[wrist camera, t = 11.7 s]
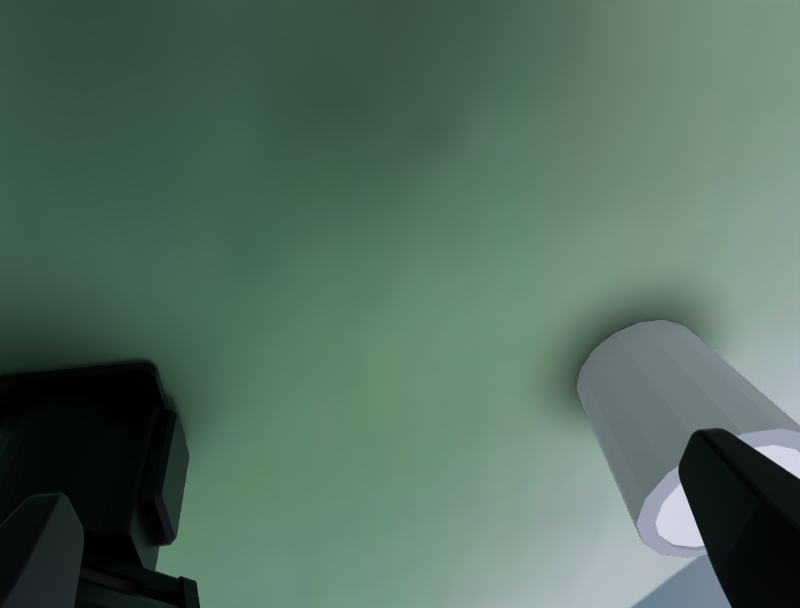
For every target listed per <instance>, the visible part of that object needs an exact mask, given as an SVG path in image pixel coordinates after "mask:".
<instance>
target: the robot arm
mask: <svg viewBox="0 0 800 608" xmlns="http://www.w3.org/2000/svg"><path fill="white" fill-rule="evenodd" d="M139 375H144V376H146V377H148V378H146V379H145V378H140V377H138V376H139ZM188 461H189V453H188V449H187V445H186V442H185V438H184V434H183V431H182V427H181V424H180V420H179V416H178V413H176V412H175V411H174V410H173V409H168V405H167V402H166V398H165V395H164V391H163V388H162V384H161V381H160V377H159V374H158V371H157V369H156V368H155V367H154V366H152V365H150V364H148V363H134V364H123V365H112V366H101V367H91V368H80V369H69V370H59V371H48V372H37V373H26V374H16V375H5V376H0V608H200V604H199V597H198V590H197V583H196V581H194V580H191V579H188V578H185V577H182V576H180V577H179V578H176V577H172V576H169V575H166V574H163V573H160V572H157V571H155V569H156V564H157V558H158V552H159V547H160V546H166V545H170V544H172V542H173V541H174V540H175V539H176V537H177V531H178V525H179V519H180V512H181V506H182V500H183V493H184V487H185V480H186V474H187V468H188ZM678 474H679V479H680V482H681V485H682V488H683V490H684V493H685V496H686V498H687V501H688V504H689V506H690V509H691V511H692V514H693V517H694V519H695V522H696V525H697V527H698V530H699V533H700V535H701V538H702V541H703V543H704V546H705V549H706V551H707V554H708V557H709V559H710V562H711V564H712V567H713V569H714V571H715V574H716V576H717V578H718V580H719V583H720V585H721V587H722V589H723V591H724V593H725V595H726V597H727V599H728V601H729V603H730V605H731V607H732V608H800V479H799V478H798V477H796V476H795V475H793V474H792V473H790V472H789V471H787V470H786V469H784V468H783V467H781V466H780V465H778V464H777V463H775V462H774V461H772V460H771V459H769V458H768V457H766V456H765V455H763V454H762V453H760V452H759V451H757V450H756V449H754V448H753V447H751V446H750V445H748V444H747V443H745V442H744V441H742V440H741V439H739V438H738V437H736V436H735V435H733V434H732V433H730V432H729V431H727V430H725V429H723V428H708V429H699V430H696V431H695V432H693V433H692V435H691V436H690V439H689V441H688V443H687V446H686V448H685V450H684V453H683V455H682V457H681V460H680V462H679V467H678Z"/></svg>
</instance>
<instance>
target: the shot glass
mask: <svg viewBox="0 0 800 608" xmlns="http://www.w3.org/2000/svg"><path fill="white" fill-rule="evenodd" d="M576 389H577V392H578V395H579V398H580V401H581V403H582V406H583V408H584V410H585V413H586V415H587V417H588V419H589V422H590V424H591V426H592V429H593V431H594V433H595V435H596V438H597V440H598V442H599V445H600V447H601V449H602V451H603V454H604V456H605V458H606V461H607V463H608V465H609V468H610V470H611V472H612V474H613V477H614V479H615V481H616V484H617V486H618V488H619V490H620V493H621V495H622V497H623V500H624V502H625V504H626V506H627V509H628V511H629V513H630V516H631V518H632V520H633V522H634V525H635V527H636V529H637V532H638V534H639V536H640V539H641V541H642V543H643V544H645V545H646V546H648V547H650V548H651V549H653V550H654V551H656V552H657V553H659V554H661V555H670V556H678V557H687V558H688V557H694V556H701V555H707V551H706V549H705V546H704V543H703V541H702V538H701V535H700V533H699V530H698V527H697V525H696V522H695V519H694V517H693V514H692V511H691V509H690V506H689V504H688V501H687V498H686V496H685V493H684V490H683V488H682V485H681V482H680V479H679V474H678V467H679V462H680V460H681V457H682V455H683V453H684V450H685V448H686V446H687V443H688V441H689V439H690V436H691V435H692V433H693V432H695V431H696V430H699V429H708V428H723V429H725V430H727V431H729V432H730V433H732V434H733V435H735V436H736V437H738V438H739V439H741V440H742V441H744V442H745V443H747V444H748V445H750V446H751V447H753V448H754V449H756V450H757V451H759V452H760V453H762V454H763V455H765V456H766V457H768V458H769V459H771V460H772V461H774V462H775V463H777V464H778V465H780V466H781V467H783V468H784V469H786V470H787V471H789V472H790V473H792V474H793V475H795V476H796V477H798V478H799V479H800V426H799V425H798V424H797V423H796V422H795V421H794V420H793V419H791V418H790V417H789V416H788V415H787V414H786V413H785V412H783V411H782V410H781V409H780V408H779V407H778V406H776V405H775V404H774V403H773V402H772V401H771V400H770V399H768V398H767V397H766V396H765V395H764V394H763V393H761V392H760V391H759V390H758V389H757V388H756V387H755V386H753V385H752V384H751V383H750V382H749V381H748V380H747V379H745V378H744V377H743V376H742V375H741V374H740V373H738V372H737V371H736V370H735V369H734V368H733V367H732V366H730V365H729V364H728V363H727V362H726V361H725V360H723V359H722V358H721V357H720V356H719V355H718V354H717V353H715V352H714V351H713V350H712V349H711V348H710V347H709V346H707V345H706V344H705V343H704V342H703V341H702V340H700V339H699V338H698V337H697V336H696V335H695V334H694V333H692V332H691V331H690V330H689V329H688V328H687V327H686V326H684V325H682V324H678V323H675V322H671V321H668V320H655V321H645V322H639V323H636V324H634V325H631V326H629V327H627V328H624V329H622V330H620V331H617V332H615V333H613V334H612V335H611V336H610V337H608V338H607V339H606V340H605V341H603V342H602V343H601V344H599V345H598V346H597V347H596V348H594V349H593V351H592V352H591V354H590V355H589V356H588V358H587V359H586V361H585V362H584V364H583V365H582V367H581V368H580V372H579V376H578V381H577V386H576Z"/></svg>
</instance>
